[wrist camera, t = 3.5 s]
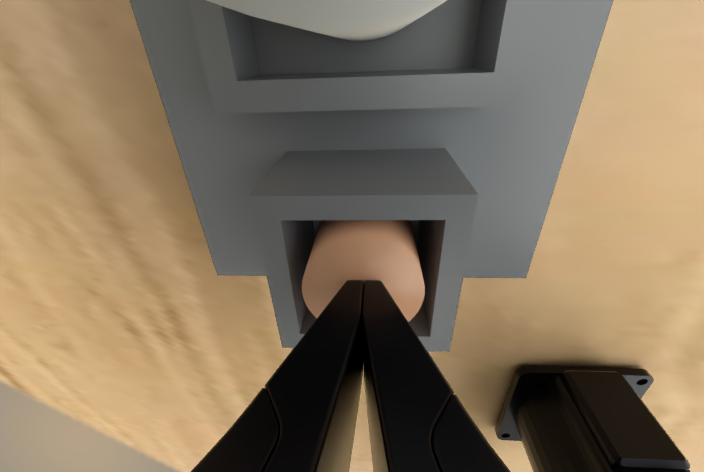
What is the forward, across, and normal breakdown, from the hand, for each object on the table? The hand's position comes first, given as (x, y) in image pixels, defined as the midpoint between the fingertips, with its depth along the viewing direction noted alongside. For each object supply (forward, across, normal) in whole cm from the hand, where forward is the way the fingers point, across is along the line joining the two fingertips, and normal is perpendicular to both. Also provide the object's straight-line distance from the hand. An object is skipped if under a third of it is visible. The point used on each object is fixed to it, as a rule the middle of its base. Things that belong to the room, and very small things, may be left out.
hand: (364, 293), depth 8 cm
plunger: (+3, 0, 0) cm, 3 cm away
